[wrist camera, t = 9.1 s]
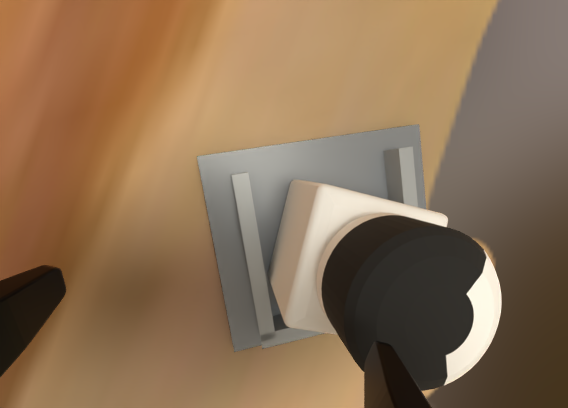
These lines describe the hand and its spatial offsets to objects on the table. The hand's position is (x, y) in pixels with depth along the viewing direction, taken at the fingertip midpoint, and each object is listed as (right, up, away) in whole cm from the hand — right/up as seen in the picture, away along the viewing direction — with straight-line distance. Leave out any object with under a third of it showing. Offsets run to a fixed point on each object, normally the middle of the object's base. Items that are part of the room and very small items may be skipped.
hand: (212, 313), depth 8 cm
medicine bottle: (+5, +1, +13) cm, 14 cm away
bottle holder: (+5, +1, +14) cm, 15 cm away
